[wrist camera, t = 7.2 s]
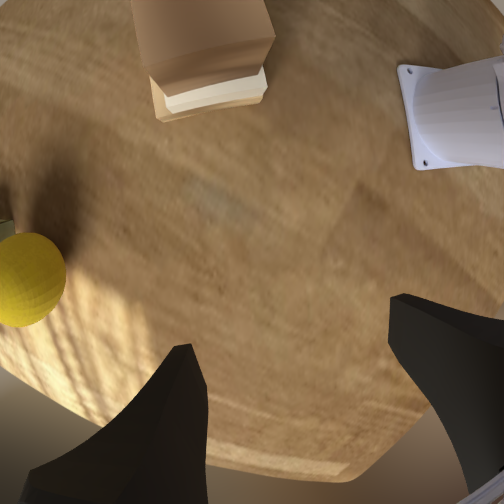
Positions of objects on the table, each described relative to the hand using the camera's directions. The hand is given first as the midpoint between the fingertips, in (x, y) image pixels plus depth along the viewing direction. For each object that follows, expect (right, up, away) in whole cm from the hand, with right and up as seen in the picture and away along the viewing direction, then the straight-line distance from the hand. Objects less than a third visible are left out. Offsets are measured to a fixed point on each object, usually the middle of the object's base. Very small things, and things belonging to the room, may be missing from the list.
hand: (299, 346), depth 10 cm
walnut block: (-4, +13, +2) cm, 14 cm away
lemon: (-16, +3, +9) cm, 19 cm away
